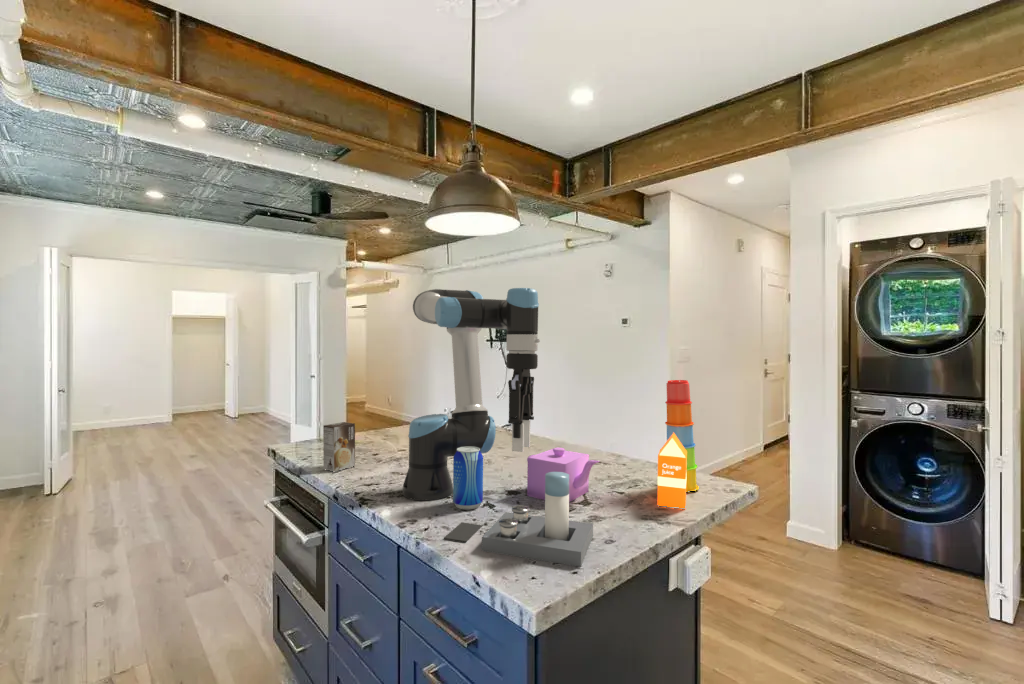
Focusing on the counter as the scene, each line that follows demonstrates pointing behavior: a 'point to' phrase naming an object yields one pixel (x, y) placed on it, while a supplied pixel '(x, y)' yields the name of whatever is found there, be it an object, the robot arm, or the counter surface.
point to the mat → (463, 532)
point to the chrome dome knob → (508, 528)
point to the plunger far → (520, 513)
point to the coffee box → (339, 446)
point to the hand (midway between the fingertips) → (521, 448)
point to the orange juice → (672, 474)
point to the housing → (540, 541)
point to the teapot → (559, 462)
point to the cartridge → (557, 506)
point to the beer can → (468, 478)
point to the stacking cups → (682, 425)
